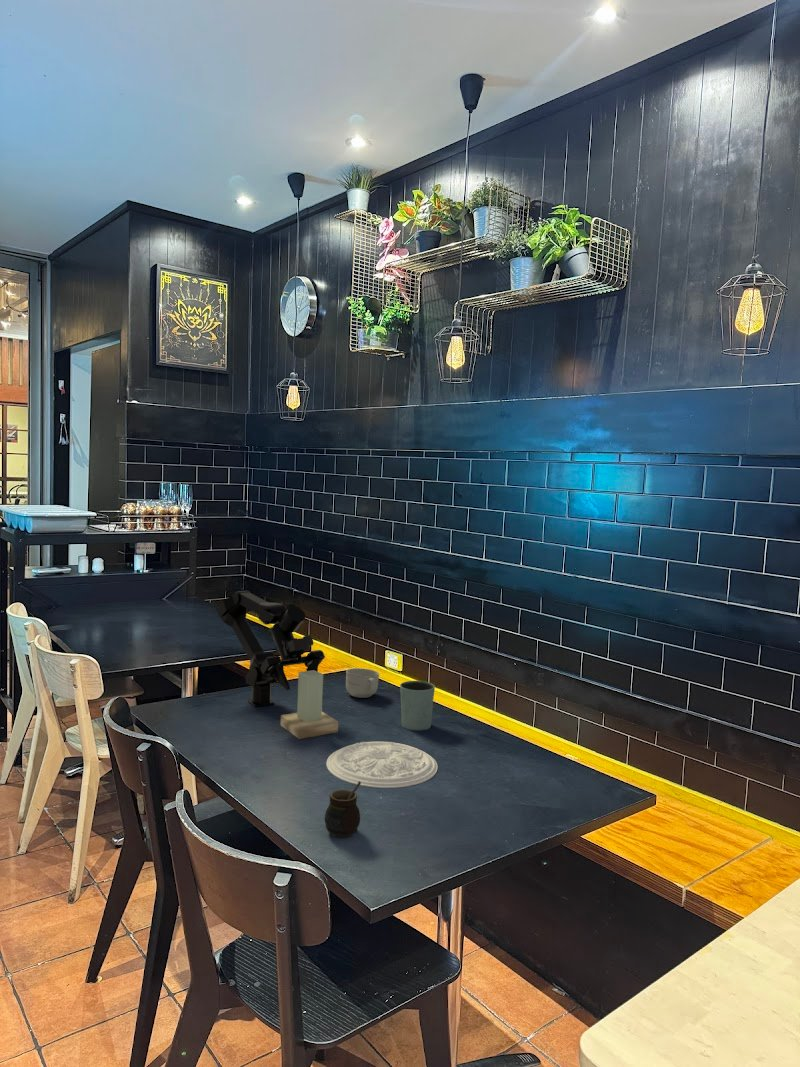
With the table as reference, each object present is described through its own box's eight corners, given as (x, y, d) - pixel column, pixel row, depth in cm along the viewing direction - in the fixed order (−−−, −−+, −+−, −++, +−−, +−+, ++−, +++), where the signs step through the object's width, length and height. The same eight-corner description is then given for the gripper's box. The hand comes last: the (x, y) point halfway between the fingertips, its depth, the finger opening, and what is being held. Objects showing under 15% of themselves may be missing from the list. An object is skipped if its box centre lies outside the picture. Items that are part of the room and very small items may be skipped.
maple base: (280, 725, 216) (280, 715, 216) (318, 719, 222) (318, 709, 222) (299, 739, 206) (299, 728, 206) (337, 732, 213) (338, 721, 212)
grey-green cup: (433, 732, 216) (435, 691, 215) (397, 730, 216) (399, 689, 215) (432, 720, 226) (434, 681, 225) (398, 718, 226) (400, 679, 225)
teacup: (341, 691, 251) (342, 667, 250) (373, 689, 254) (374, 666, 254) (351, 704, 238) (352, 679, 237) (385, 702, 241) (386, 678, 240)
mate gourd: (316, 831, 155) (318, 783, 154) (344, 820, 161) (346, 774, 160) (339, 844, 150) (341, 796, 149) (367, 832, 155) (369, 785, 155)
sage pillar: (297, 717, 214) (298, 672, 213) (312, 714, 217) (313, 670, 216) (306, 722, 210) (307, 676, 209) (321, 719, 214) (323, 674, 212)
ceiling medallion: (427, 796, 175) (428, 783, 175) (311, 781, 180) (312, 768, 180) (444, 752, 202) (445, 741, 202) (343, 740, 208) (344, 729, 207)
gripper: (266, 629, 213) (285, 677, 206) (323, 623, 225) (342, 668, 217) (252, 650, 220) (269, 697, 212) (307, 643, 232) (326, 688, 224)
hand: (302, 687), depth 216 cm, fingers open, 9 cm apart
